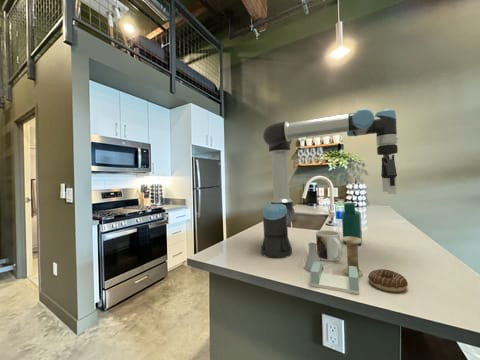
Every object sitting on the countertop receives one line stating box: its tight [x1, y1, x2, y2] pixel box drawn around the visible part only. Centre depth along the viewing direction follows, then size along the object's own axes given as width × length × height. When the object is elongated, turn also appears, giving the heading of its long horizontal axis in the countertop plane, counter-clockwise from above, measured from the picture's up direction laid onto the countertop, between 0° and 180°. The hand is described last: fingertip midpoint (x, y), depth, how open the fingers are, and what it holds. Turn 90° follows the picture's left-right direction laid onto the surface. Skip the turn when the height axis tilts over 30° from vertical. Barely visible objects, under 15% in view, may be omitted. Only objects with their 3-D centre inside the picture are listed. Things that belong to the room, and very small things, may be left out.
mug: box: [315, 229, 343, 262], centre depth 94 cm, size 10×12×11 cm
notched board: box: [310, 261, 360, 295], centre depth 71 cm, size 14×9×5 cm, turn 64°
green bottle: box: [341, 202, 363, 246], centre depth 113 cm, size 10×8×22 cm
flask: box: [304, 242, 324, 272], centre depth 84 cm, size 7×7×10 cm
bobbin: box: [342, 236, 364, 278], centre depth 78 cm, size 6×6×13 cm
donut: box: [367, 268, 409, 293], centre depth 69 cm, size 11×11×4 cm
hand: (389, 192), depth 94 cm, fingers open, 13 cm apart
